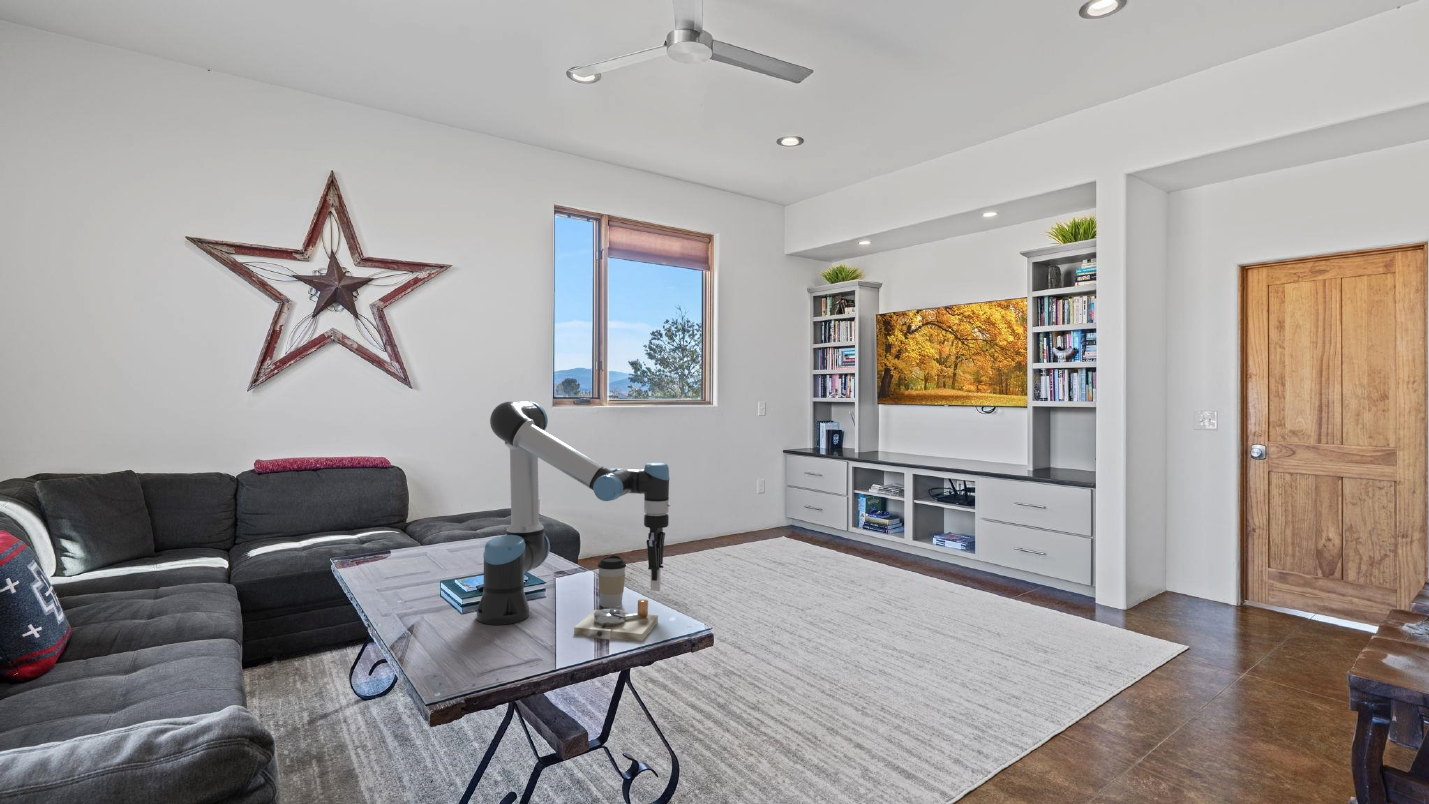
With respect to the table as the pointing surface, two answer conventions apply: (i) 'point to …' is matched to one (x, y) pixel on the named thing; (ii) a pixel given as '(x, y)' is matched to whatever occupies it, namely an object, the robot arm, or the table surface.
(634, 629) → the stand
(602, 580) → the coffee cup
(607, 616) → the cam capstan
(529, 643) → the table surface
